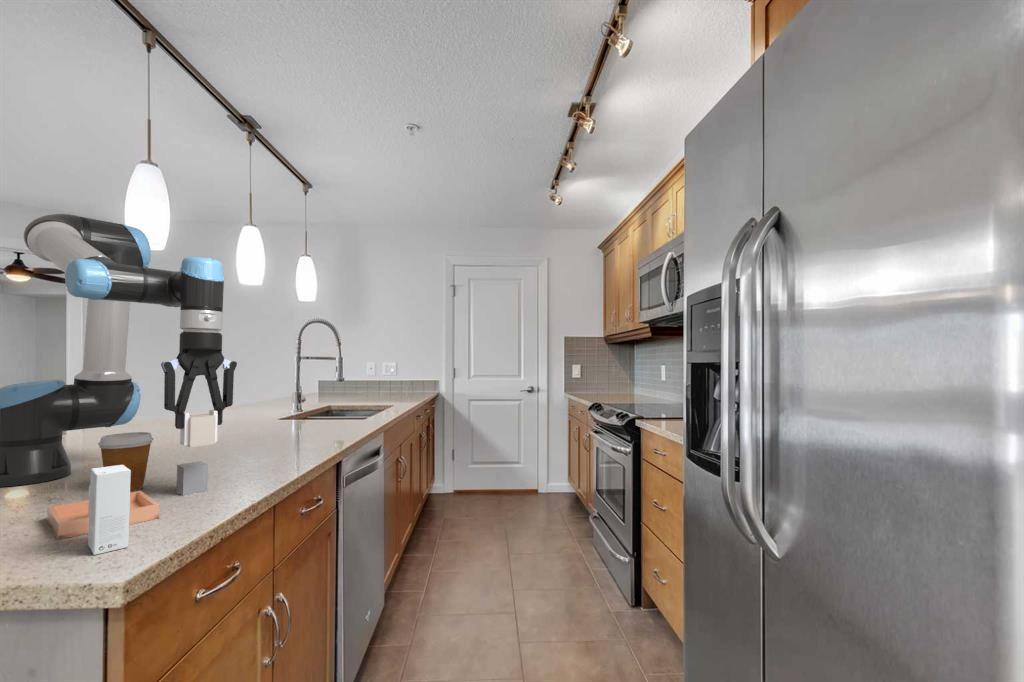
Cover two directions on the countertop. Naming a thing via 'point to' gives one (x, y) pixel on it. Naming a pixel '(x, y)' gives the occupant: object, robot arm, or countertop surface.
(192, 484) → the grey rectangular block
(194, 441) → the beige rectangular block
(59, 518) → the dish
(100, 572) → the countertop surface
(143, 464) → the disposable coffee cup
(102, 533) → the skincare box
